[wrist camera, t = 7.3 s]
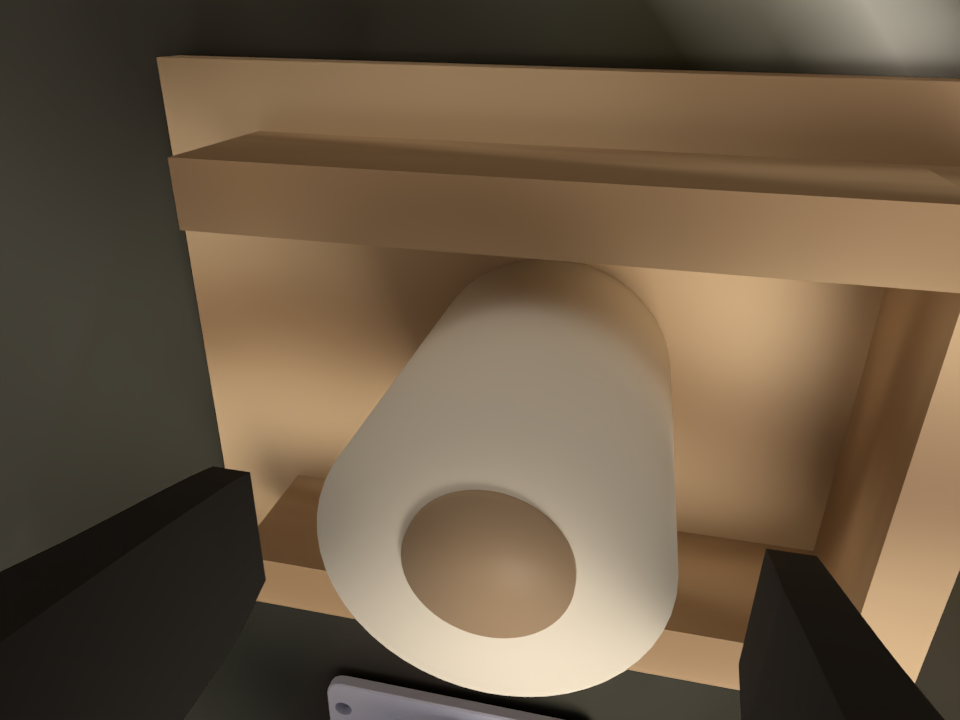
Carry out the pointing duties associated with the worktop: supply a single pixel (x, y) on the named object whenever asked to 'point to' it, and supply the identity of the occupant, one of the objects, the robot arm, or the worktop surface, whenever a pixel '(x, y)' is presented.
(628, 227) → the clip holder
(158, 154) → the worktop surface
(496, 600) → the paper roll
